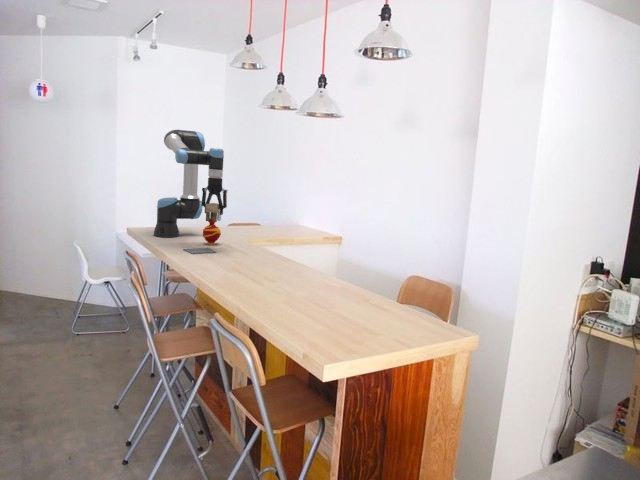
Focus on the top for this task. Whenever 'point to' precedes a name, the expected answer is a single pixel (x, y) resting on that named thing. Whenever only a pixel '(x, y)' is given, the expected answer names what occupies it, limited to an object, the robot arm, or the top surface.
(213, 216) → the footstool
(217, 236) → the potion bottle
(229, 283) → the top surface
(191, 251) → the mat
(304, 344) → the top surface
